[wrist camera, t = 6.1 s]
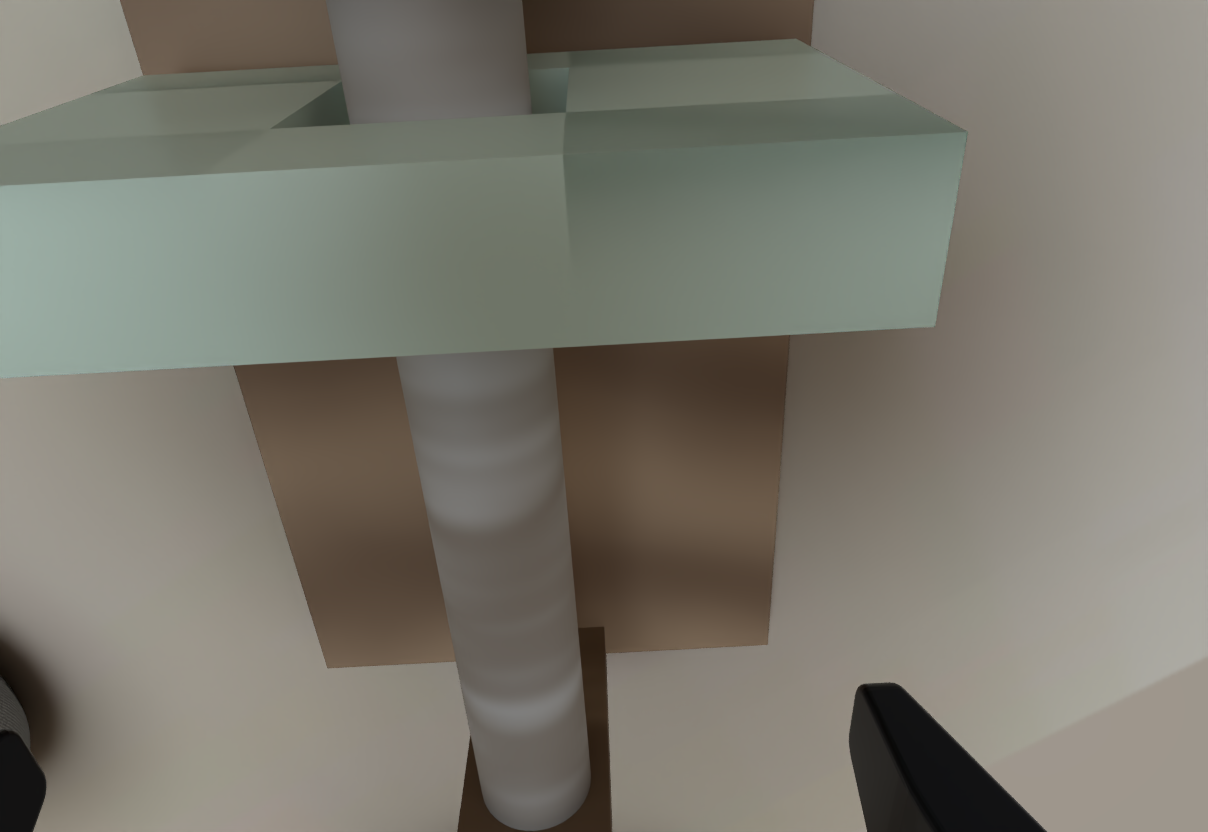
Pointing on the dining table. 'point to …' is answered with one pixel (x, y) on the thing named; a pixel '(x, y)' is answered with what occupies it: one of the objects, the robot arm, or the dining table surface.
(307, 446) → the pipe stand
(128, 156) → the collar
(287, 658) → the dining table surface
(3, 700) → the smart speaker
